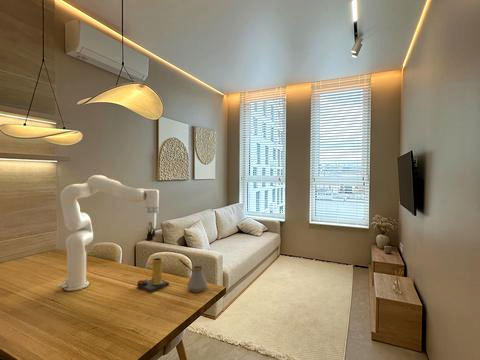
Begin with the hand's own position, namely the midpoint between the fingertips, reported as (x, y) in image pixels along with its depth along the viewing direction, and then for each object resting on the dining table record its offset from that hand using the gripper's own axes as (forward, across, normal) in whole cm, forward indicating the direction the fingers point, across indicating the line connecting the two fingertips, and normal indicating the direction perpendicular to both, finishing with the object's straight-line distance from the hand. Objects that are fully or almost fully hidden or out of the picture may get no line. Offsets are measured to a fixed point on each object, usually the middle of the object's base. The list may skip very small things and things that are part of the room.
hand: (151, 238), depth 157 cm
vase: (+26, +2, +4) cm, 27 cm away
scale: (+28, +2, +2) cm, 28 cm away
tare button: (+25, +2, -4) cm, 25 cm away
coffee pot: (+28, +7, +24) cm, 38 cm away
